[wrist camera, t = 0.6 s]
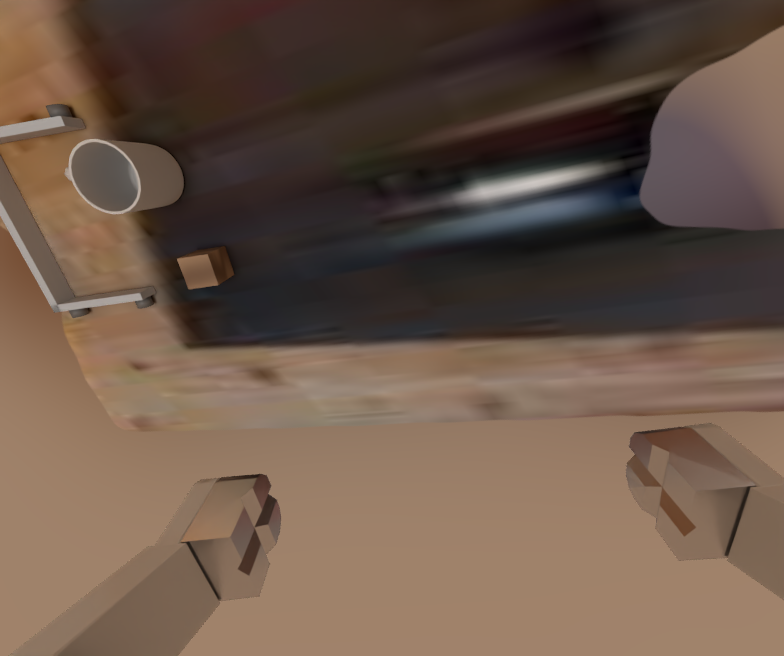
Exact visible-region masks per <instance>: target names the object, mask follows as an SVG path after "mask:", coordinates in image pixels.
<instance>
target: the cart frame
mask: <svg viewBox="0 0 784 656" xmlns="http://www.w3.org/2000/svg"><path fill="white" fill-rule="evenodd" d="M46 108H47V110H48V112H49V114H50V117H51V118H45V119H40V120H34V121H29V122H23V123H18V124H12V125H7V126H1V127H0V144H1V143H6V142H12V141H18V140H23V139H29V138H34V137H40V136H46V135H51V134H57V133H62V132H68V131H74V130H79V129H85V125H84V123H83V121H82V119H79V118H73V117H72V115H71V112H70V110H69V108H68V106H67V105H62V104H53V105H47V106H46ZM0 216H1V218H2V220H3V221H4V223H5V225H6V227H7V229H8V230H9V232H10V234H11V236H12V237H13V239H14V241H15V243H16V245H17V246H18V248H19V250H20V252H21V253H22V255H23V257H24V259H25V261H26V262H27V264H28V266H29V268H30V270H31V271H32V273H33V275H34V277H35V279H36V280H37V282H38V284H39V286H40V288H41V289H42V291H43V293H44V295H45V297H46V298H47V300H48V302H49V303H50V305H51V307H52V309H53V311H54V312H61V311H68V310H69V312H70V314H71V316H72V318H76V317H80V316H84V315H86V314H88V313H89V311H88V309H87V308H89V307H96V306H103V305H111V304H118V303H125V302H132V301H135V303H136V305H137V307H138V308H145V307H149V306H151V305H153V304H154V303H153V301H152V298H151V295H153V294H155V293H156V291H155V289H154V287H153V286H152V287H145V288H138V289H131V290H124V291H117V292H110V293H103V294H96V295H89V296H82V297H76V298H75V297H74V295H73V293H72V291H71V289H70V287H69V285H68V283H67V281H66V279H65V277H64V276H63V274H62V272H61V270H60V268H59V266H58V264H57V262H56V260H55V258H54V256H53V255H52V253H51V251H50V249H49V247H48V245H47V243H46V241H45V239H44V237H43V236H42V234H41V232H40V230H39V228H38V226H37V224H36V222H35V220H34V218H33V216H32V215H31V213H30V211H29V209H28V207H27V205H26V203H25V201H24V199H23V197H22V196H21V194H20V192H19V190H18V188H17V186H16V184H15V182H14V180H13V178H12V176H11V175H10V173H9V171H8V169H7V167H6V165H5V163H4V161H3V159H2V157H1V156H0Z"/></svg>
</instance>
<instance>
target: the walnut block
mask: <svg viewBox="0 0 784 656" xmlns="http://www.w3.org/2000/svg"><path fill="white" fill-rule="evenodd" d="M177 260H178V263H179V266H180V268H181V271H182V273H183V276H184V278H185V281H186V284H187V286H188V289H194V288H201V287H208V286H215V285H219V284H221V283H222V282H224V281H225V280H227V279H228V278H230V277H231V276H233V275H234V272H233V269H232V266H231V263H230V260H229V257H228V254H227V251H226V248H225V246H223V247H216V248H209V249H203V250H197V251H194V252H192V253H189V254H187V255H185V256H182V257H180V258H177Z"/></svg>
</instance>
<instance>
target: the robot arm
mask: <svg viewBox="0 0 784 656" xmlns="http://www.w3.org/2000/svg"><path fill="white" fill-rule="evenodd" d="M629 448H630V449H631V450H632V451H633V452H634V454H635V455H634V456H633V457H632V458H631V459H630V460H629V461H628V462H627V469H626V477H627V481H628V486H629V489H630V491H631V493H632V495H633V497H634V499H635V500H636V502H637V503H638V505H639V506H640V507H641V509H642V510H644V511H646V512H647V513H649V514H651V515H652V516H654V517H656V530H657V531H658V533H659V534H660V535H661V537H662V538H663V540H664V541H665V542H666V544H667V545H668V547H669V548H670V549H671V550H672V552H673V553H674V555H675V556H676V558H677V559H678V560H680V561H681V560H697V559H716V558H728V559H727V561H728V562H730V563H731V564H733V565H734V566H736V567H737V568H739V569H740V570H741V571H743V572H745V573H746V574H747V575H749V576H750V577H752V578H753V579H755V580H756V581H757V582H759V583H760V584H761V585H763V586H764V587H766V588H767V589H769V590H770V591H772V592H773V593H774V594H776V595H777V596H779V597H780V598H782V599H783V600H784V478H783V477H782V476H781V475H780V474H778V473H777V472H776V471H775V470H773V469H772V468H771V467H770V466H768V465H767V464H766V463H765V462H763V461H762V460H761V459H760V458H758V457H757V456H756V455H754V454H753V453H752V452H751V451H750V450H748V449H747V448H746V447H744V446H743V445H742V444H741V443H739V442H738V441H737V440H736V439H734V438H733V437H732V436H731V435H729V434H728V433H727V432H726V431H724V430H723V429H722V428H721V427H719V426H717V425H714V424H711V423H707V424H699V425H691V426H685V427H677V428H668V429H659V430H651V431H642V432H635V433H634V434H633V435H632V436H631V438H630V445H629ZM270 488H271V484H270V482H269V479H268V477H267V475H263V474H257V475H244V476H232V477H222V478H215V479H203V480H200V481H198V482H197V483H195V484H194V485H193V487H192V488H191V490H190V491H189V493H188V494H187V496H186V498H185V499H184V501H183V502H182V504H181V505H180V507H179V508H178V510H177V512H176V513H175V515H174V516H173V518H172V519H171V521H170V522H169V524H168V525H167V527H166V529H165V530H164V532H163V533H162V535H161V536H160V538H159V540H158V541H157V543H156V544H155V546H150V547H146V548H145V549H144V550H143V551H141V552H140V553H139V554H137V555H136V556H135V557H134V558H132V559H131V560H130V561H129V562H127V563H126V564H125V565H123V566H122V567H121V568H120V569H118V570H117V571H116V572H115V573H113V574H112V575H111V576H109V577H108V578H107V579H106V580H104V581H103V582H102V583H100V584H99V585H98V586H97V587H95V588H94V589H93V590H92V591H91V592H89V593H88V594H87V595H85V596H84V597H83V598H81V599H80V600H79V601H78V602H76V603H75V604H74V605H72V606H71V607H70V608H69V609H67V610H66V611H65V612H64V613H62V614H61V615H60V616H58V617H57V618H56V619H55V620H53V621H52V622H51V623H50V624H48V625H47V626H46V627H45V628H43V629H42V630H41V631H40V632H38V633H37V634H36V635H34V636H33V637H32V638H30V639H29V640H28V641H27V642H25V643H24V644H23V645H22V646H20V647H19V648H18V649H16V650H15V651H14V652H13V653H11V654H10V655H9V656H178V655H179V654H180V652H181V651H182V650H183V649H184V648H185V646H186V645H187V644H188V643H189V641H190V640H191V639H192V638H193V636H194V635H195V634H196V633H197V632H198V630H199V629H200V628H201V627H202V625H203V624H204V623H205V622H206V620H207V619H208V618H209V617H210V615H211V614H212V613H213V612H214V611H215V609H216V608H217V607H218V606H219V604H220V602H219V601H225V600H233V599H241V598H250V597H258V596H260V593H261V589H262V586H263V584H264V581H265V577H266V574H267V571H268V568H269V565H270V563H269V561H268V558H267V555H266V554H267V553H268V552H269V551H270V550H271V549H272V548H273V547H274V546H275V545H276V543H277V540H278V536H279V533H280V525H281V514H280V507H279V504H278V502H277V500H276V499H275V498H273V497H272V496H271V495H269V494H268V493H269V490H270Z"/></svg>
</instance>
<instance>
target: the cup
mask: <svg viewBox="0 0 784 656" xmlns="http://www.w3.org/2000/svg"><path fill="white" fill-rule="evenodd" d="M65 175H66V177H67V178H68V179H69V180H71V181H72V182H73V185H74V186H75V188H76V190H77V191H78V193H79V194H80V195H81V196H82V197H83V198H84V200H85V201H86V202H87V203H89V204H90V205H92V206H93V207H94V208H96V209H98V210H100V211H103V212H105V213H110V214H122V213H128V212H134V211H140V210H146V209H152V208H157V207H163V206H167V205H170V204H172V203H174V202H175V201H177V200H178V199H179V197H180V196H181V194H182V192H183V187H184V178H183V174H182V170H181V168H180V166H179V164H178V163H177V161H176V160H175V159H174V158H173V156H172V155H171V154H169V153H168V152H167V151H166V150H164V149H162V148H160V147H158V146H155V145H150V144H145V143H134V142H123V141H112V140H101V139H90V140H85V141H83V142H80V143H79V144H78V145H77V146H76V147H75V148H74V149H73V150H72V152H71V155H70V157H69V167H68V168H66V169H65Z"/></svg>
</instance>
